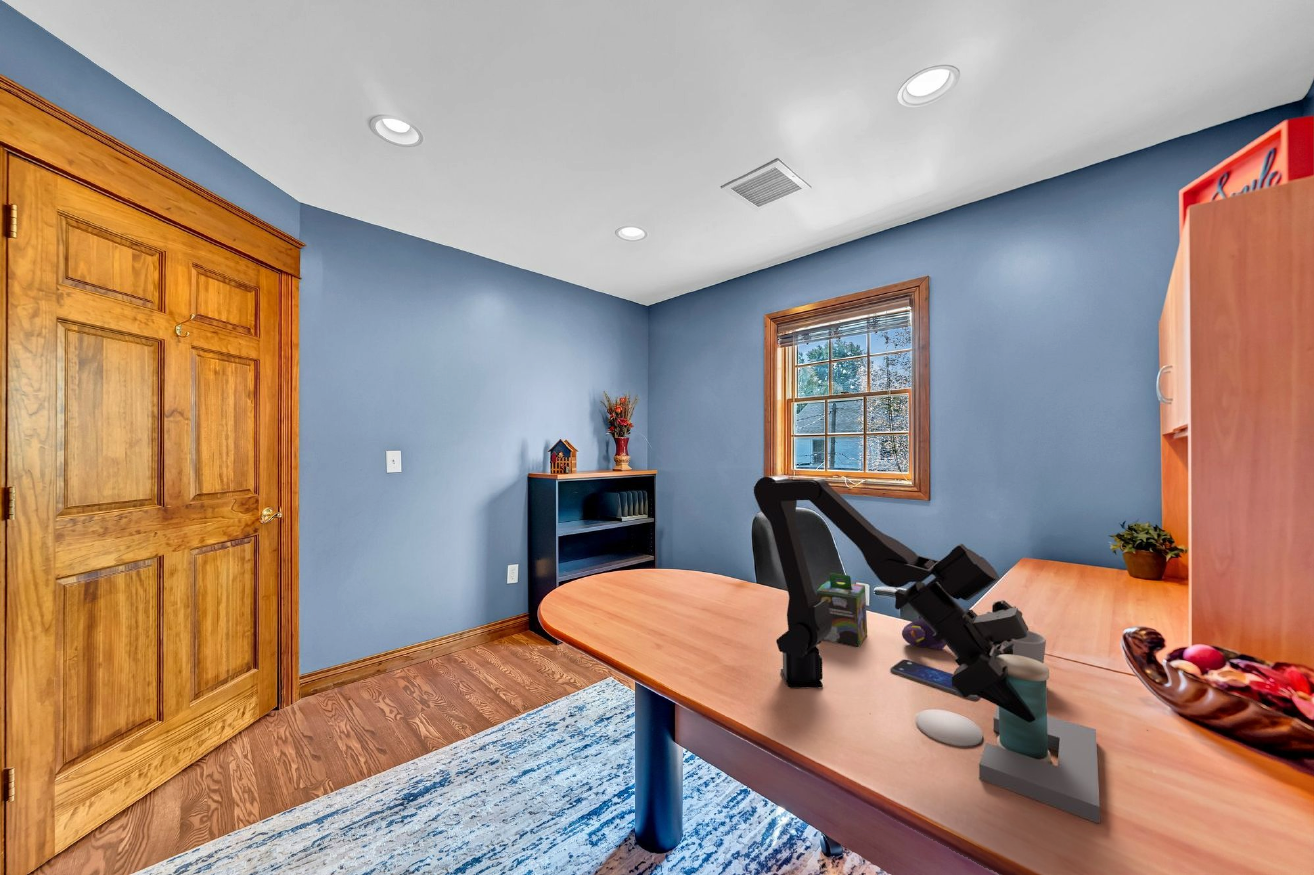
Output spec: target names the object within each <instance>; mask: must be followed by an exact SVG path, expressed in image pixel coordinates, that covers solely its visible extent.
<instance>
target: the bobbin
mask: <svg viewBox="0 0 1314 875" xmlns="http://www.w3.org/2000/svg"><path fill="white" fill-rule="evenodd" d="M996 661H997V662H998V663H999V664H1000V666H1001V668H1003V667H1005V666H1007V667H1008V681H1009V683H1010V684H1011V685H1012V687H1013V688H1014V689H1015V690H1016V692H1017V693H1018V694H1019V696H1020V697H1021V698H1022V700H1023V701H1024V702H1025V704H1026V705H1027V706H1028V708H1029V709H1030V710H1031V712H1032V713H1033V715H1034V716H1035V718H1036V719H1035V720H1034V721H1032V722H1027V721H1025V720H1023V719H1021V718H1020V717H1018V716H1016V715H1014V714H1012V713H1010V712H1009V711H1007V710H1005V709H1003V708H1001V707H999V732H998V734H999V735H998V736H997V738H996V746H998V747H1001V748H1004V749H1007V750H1010V751H1013V752H1016V753H1019V754H1022V755H1025V756H1028V757H1031V758H1034V759H1037V760H1040V761H1043V762H1046V763H1049V764H1052V761H1051V760H1052V759H1051V756H1052V754H1051V752H1050V751H1049V748H1048V734H1047V716H1048V698H1047V697H1048V696H1047V695H1048V693H1047V691H1048V688H1047V686H1048V685H1047V681H1048V680H1049V679H1050V668H1049V667H1048V666H1047V665H1046V664H1045V663H1041V662H1039V661H1037V660H1034V659H1031V658H1028V657H1024V656H1019V655H1011V654H1004V655H999V656H997V657H996Z"/></svg>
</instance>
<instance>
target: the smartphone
mask: <svg viewBox="0 0 1314 875" xmlns="http://www.w3.org/2000/svg"><path fill="white" fill-rule="evenodd" d="M889 671H890V672H891V673H892V674H894V675H896V676H899V677H902V678H905V679H909V680H910V681H911V680H912V681H914V682H917V683H921V684H923V685H925V686H926V685H927V686H929V687H932V688H935V689H938V690H941V691H944V692H945V693H949V694H952V695H955V696H959V697H961V696H960V695H959V693H958V692H957V691H956V690H955V689H954V688H953V687H952V675H953V674H954V673H951V672H949V671H945V670H942V669H938V668H935V667H932V666H928V665H926V664H923V663H919V662H915V661H913V660H910V659H901V660H900V661H898V662H897V663H895V664H894V665H892V667H891V666H890V670H889ZM980 698H981V697H979V696H977V695H972V694H971V695H969V696H968V697H966V698H965V699H967V700H971V701H977V700H979V699H980Z"/></svg>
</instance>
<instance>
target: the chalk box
mask: <svg viewBox="0 0 1314 875" xmlns="http://www.w3.org/2000/svg"><path fill="white" fill-rule="evenodd" d="M838 579H840V580H843V581H844V582H841V581H837V580H838ZM815 594H816V595H817V596H818V597H819V599H820V600H825V599H827V600H828V603H829V610H830V613H831V616H832V617H833V619H834V621H832V622H831V624H832V628H831V631H830V633H829V634H828V635H827V636H826V637H825V638H824V639H822V641H826V642H832V643H836V644H839V645H845V646H849V647H853V648H860V646H861V645H862V643H863V641H864V640H865V638H866V636H867V635H868V622H867V620H868V619H867V598H866V585H865V584H858V583H857V584H856V583H852V578H851V576H850V575H848V574H839V573H832V572H831V573H829V580H827V581H826V582H825V583H823V584H822V585H821V586H820V587H819V588H818V589H817V590H816V591H815Z"/></svg>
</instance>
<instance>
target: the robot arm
mask: <svg viewBox="0 0 1314 875" xmlns="http://www.w3.org/2000/svg"><path fill="white" fill-rule="evenodd" d="M753 495H754V498H755V501H756V503H757V506H758V508H759V511H760V512H761V513H762V514H763V516H764V517H765V518H766V519H767V521H768V522H769V524H770V526H771V532H772V534H773V538H774V543H775V547H776V551H777V554H778V559H779V562H780V566H781V571H782V574H783V579H784V582H785V585H786V590H787V594H788V602H787V609H786V610H787V611H786V621H787V630H786V632H784V633H783V634H781V636H779V637H778V638H777V639H776V640H775V642H776V644H777V648H778V651H779V652H780V653H782V668H781V669H780V674H781V676H782V679H783V680H784V682H785V684H786V686H787V687H788V688H789V689H791V688H792V689H793V688H794V689H795V688H796V689H799V688H800V689H801V688H802V689H804V688H805V689H807V688H814V689H815V688H816V689H817V688H818V689H819V688H821V689H822V688H823V687H824V683H823V682H822V680H823V677H824V676H823V674H824V673H823V657H822V656H821V655H820V649H819V648H818V647H817V646H818V645H820V644H822V641H823V640H822V639H824V638H825V637H826V636H827V635H828V634H829V633H830V631H831V628H832V624H831V622H832V621H834V619H833V617H832V616H831V613H830V610H829V603H828V600H827V599H825V600H820V599H819V597H818V596H817V594H816V591H815V589H814V587H813V583H812V579H811V575H810V572H809V571H810V570H809V567H808V564H807V560H806V556H805V553H804V549H803V546H802V541H801V538H800V533H799V531H798V530H799V529H798V525H797V521H796V511H797V505H798V502H797V501H809V502H811V504H813V505H814V507H816V508H817V510H819V511H820V512H821V513H822V514H823V515H824V516H825V517H826V518H827V519H828V520H829V521H830V522H831V523H832V524H833V525H834V526H836V527H837V529H839V531H840V532H841V533H842V534H844V535H845V536H846V537H847V538H848V539H849V540H850V541H851V542H852V543H853V544H854V545H855V546H856V547H857V549H858V550H859V551H860V552H861V553H862V554H861V555H862V556H863V558H864V560H865V562H866V564H867V566H868V567H869V568H870V570H871V571H872V572H873V574H874V575H875V577H877V579H878V580H879V581H880V582H881V583H882V584H883V585H885V586H886V587H890V588H898V589H897V590H896V591H895V592H894V598H895V602H894V608H895V609H896V610H898V611H899V610H901V609H902V608H903V607H905V606H906V605H907V604H908V605H909V606H910V607H911V609H913V610H914V611H915V612H916V614H917V615H918V616H919V617H920V618H922V619H923V620H924V621H925V622H926V623H927V625H928V626H929V627H930V628H931V629H932V630H933V631H934V632H935V634H934V635H933V638H934V639H935V640H936V641H937V642H939V641H941V640H942V641H943V642H944V643H945V644H946V647H947V648H948V649H949V650H950V651H951V652H952V653H953V654H954V655H955V659H954V660H953V661H954V662H955V663H956V664H957V665H958V666H957V667H956V668H955V669H954V672H953V673H952V674H953V675H952V687H953V688H954V689H955V690H956V691H957V692H958V693H959V695H960V696H959V697H961V698H962V699H967V698H966V697H968V696H969V695H971V694H972V695H977V696H979V697H980V698H982V699H983V700H986V701H988V702H989V703H992V704H994V705H996V707H997V706H999V707H1001V708H1003V709H1005V710H1007V711H1009V712H1010V713H1012V714H1014V715H1016V716H1018V717H1020V718H1021V719H1023V720H1025V721H1027V722H1032V721H1034V720H1035V719H1036V718H1035V716H1034V715H1033V713H1032V712H1031V710H1030V709H1029V708H1028V706H1027V705H1026V704H1025V702H1024V701H1023V700H1022V698H1021V697H1020V696H1019V694H1018V693H1017V692H1016V690H1015V689H1014V688H1013V687H1012V685H1011V684H1010V683H1009V681H1008V667H1007V666H1005V667H1003V668H1001V666H1000V664H999V663H998V662H997V661H996V657H997V656H999V655H1004V654H1011V655H1014V648H1015V645H1014V644H1011V645H1009V646H1008V647H1006V648H1005V647H1004V646H1003V645H1002V644H1001V643H1002V642H1004V641H1005V640H1006V641H1008V642H1010V641H1012V639H1015V640H1017V639H1022V638H1025V637H1026V636H1027V631H1030V629H1029V627H1028V625H1027V624H1026V621H1025V619H1024V618H1023V612H1022V611H1021V610H1019V608H1018V607H1017V606H1016V605H1015V606H1012V605H1010V604H1009V603H1008V602H1007V601H1006V600H1004V599H1001V600H997V601H994V602H993V603H992V606H991V609H992V610H991V611H986V613H983V614H980V615H978V614H977V613H976V612H975V611H974V610H973V609H969V608H966V609H964V608H963V607H962V606H961V605H960V604H959V602H957V601H956V600H958V601H959V600H960V599H961V600H964V601H970V600H972V599H973V598H974V597H975V596H977V595H978V594H980V593H982V592H983V591H984V590H986V589H987V588H989V587H990V586H992V585H993V584H995V583H996V582H997V581H999V580H1000V576H999V574H998V572H997V570H995V568H994V567H993V566H992V564H990V562H989V561H987V559H986V558H984V557H983V556H980V555H979V554H978V553H976V552H974V551H973V550H971V549H969V548H967V547H966V546H965V545H964V544H963V543H959V544H958V545H957V546H955V547H953V549H951V551H950V552H949V553H948V554H947V555H945V556H944V557H943V558H941V559H940V560H937V559H933V558H929V557H925V556H921V555H918V554H917V553H916V552H915V551H914V550H913V549H911V548H910V547H909V546H906V545H905V544H904V543H902V542H901V541H899V540H898V539H896V538H894V537H891V536H889V535H887V534H885V533H883V532H882V531H880V530H879V529H878V528H876V527H875V526H874V525H873V524H872V523H871V522H870V521H869V520H868V519H867V518H865V517H864V516H863V515H862V514H861V513H860V512H859V511H858V510H857V509H856V508H854V506H852V505H851V504H850V503H849V502H848V501H847V500H846V499H844V497H843V496H841V495H840V494H839V493H838V492H837V491H836V490H835V489H834V488H832V486H831V485H830V484H829V482H828V481H827V480H826V479H824V478H821V477H818V478H817V477H816V478H811V479H809V478H807V479H806V478H805V479H803V478H799V479H798V478H797V479H792V478H790V477H789V476H787V475H785V474H784V475H783V474H776V475H770V476H769V475H768V476H762V477H761V478H759V479H758V480H757V481H756V483H755V485H754V487H753ZM931 575H933V576H934V577H933V578H932V579H931V580H930V581H928V582H926V583H925V582H924V581H925V580H926V579H928V578H929V577H931ZM909 583H913V584H911V586H909V587H908V588H907V589H901V588H902V587H905V586H906V585H908V584H909ZM899 588H900V589H899ZM1000 644H1001V645H1000Z"/></svg>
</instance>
